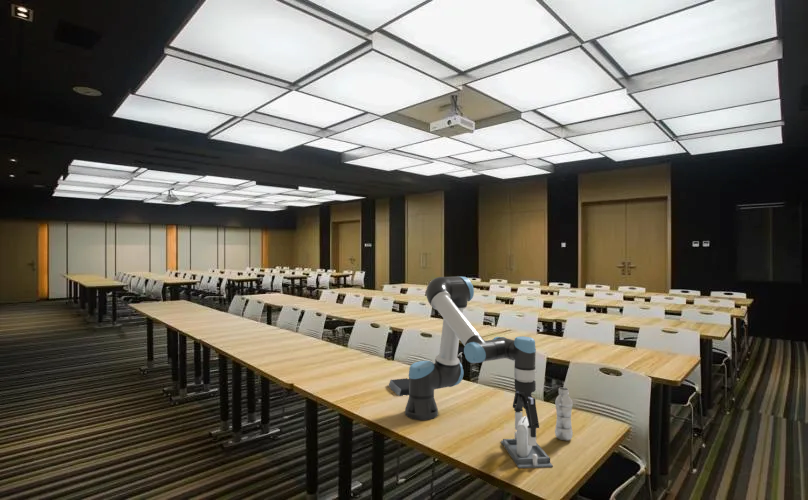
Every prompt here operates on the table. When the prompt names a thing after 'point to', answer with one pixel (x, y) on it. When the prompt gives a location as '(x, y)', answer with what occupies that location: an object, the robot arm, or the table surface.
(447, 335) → the robot arm
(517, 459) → the tray
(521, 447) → the photo printer
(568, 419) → the plastic bottle
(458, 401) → the table surface
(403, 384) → the external hard drive
